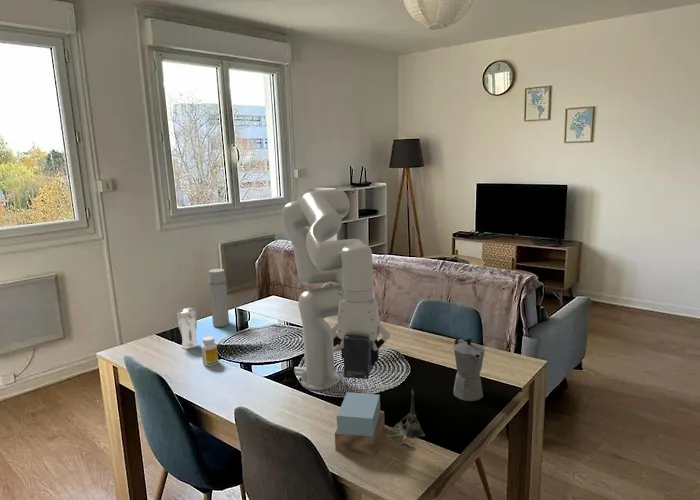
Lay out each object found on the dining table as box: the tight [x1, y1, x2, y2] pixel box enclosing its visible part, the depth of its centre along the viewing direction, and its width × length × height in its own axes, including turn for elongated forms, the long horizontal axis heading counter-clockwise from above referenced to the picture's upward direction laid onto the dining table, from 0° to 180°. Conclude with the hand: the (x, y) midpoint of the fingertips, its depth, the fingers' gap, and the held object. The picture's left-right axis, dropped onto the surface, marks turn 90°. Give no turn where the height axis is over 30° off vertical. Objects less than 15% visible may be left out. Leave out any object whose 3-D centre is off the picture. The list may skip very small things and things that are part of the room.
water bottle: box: [207, 268, 230, 328], centre depth 214 cm, size 9×8×25 cm
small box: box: [343, 335, 373, 380], centre depth 123 cm, size 11×6×10 cm, turn 168°
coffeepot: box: [453, 337, 485, 402], centre depth 148 cm, size 15×9×18 cm, turn 13°
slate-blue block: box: [336, 391, 381, 437], centre depth 126 cm, size 9×12×5 cm
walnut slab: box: [334, 410, 385, 456], centre depth 127 cm, size 10×13×5 cm
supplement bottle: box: [200, 335, 219, 367], centre depth 176 cm, size 5×5×10 cm
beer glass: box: [176, 307, 199, 350], centre depth 192 cm, size 7×7×15 cm
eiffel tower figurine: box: [386, 389, 426, 451], centre depth 129 cm, size 15×10×13 cm
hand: (360, 361), depth 123 cm, fingers closed on small box, 6 cm apart
